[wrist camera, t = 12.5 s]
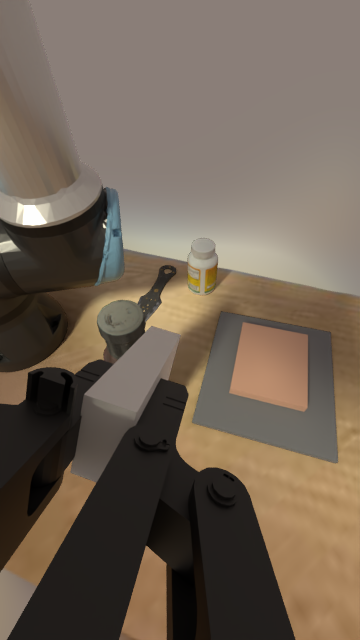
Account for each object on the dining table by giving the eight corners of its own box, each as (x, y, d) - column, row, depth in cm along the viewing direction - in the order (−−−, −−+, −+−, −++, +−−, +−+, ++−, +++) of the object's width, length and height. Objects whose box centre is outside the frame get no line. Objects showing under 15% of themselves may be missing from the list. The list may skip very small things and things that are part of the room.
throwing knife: (180, 269, 57) (180, 267, 57) (138, 345, 46) (137, 343, 45) (161, 265, 58) (161, 263, 58) (115, 338, 47) (114, 336, 46)
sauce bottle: (116, 425, 37) (62, 341, 22) (129, 383, 41) (90, 287, 26) (164, 432, 36) (142, 350, 21) (172, 388, 40) (159, 292, 25)
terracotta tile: (307, 407, 36) (307, 334, 43) (230, 388, 38) (242, 322, 45) (303, 412, 37) (304, 341, 44) (228, 393, 39) (241, 328, 46)
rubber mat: (336, 463, 33) (338, 462, 33) (192, 422, 37) (192, 421, 37) (329, 334, 45) (330, 332, 45) (220, 313, 49) (221, 311, 49)
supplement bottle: (187, 296, 52) (186, 255, 45) (188, 277, 55) (187, 235, 48) (216, 296, 52) (220, 254, 44) (214, 276, 55) (218, 235, 48)
